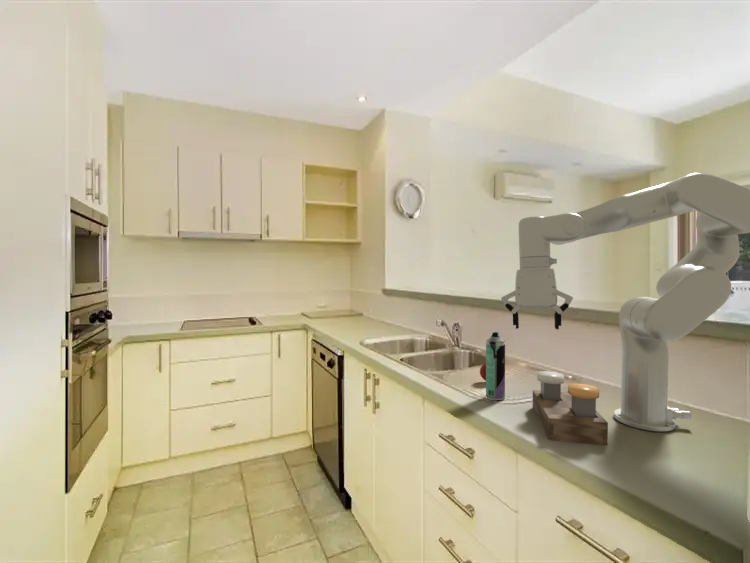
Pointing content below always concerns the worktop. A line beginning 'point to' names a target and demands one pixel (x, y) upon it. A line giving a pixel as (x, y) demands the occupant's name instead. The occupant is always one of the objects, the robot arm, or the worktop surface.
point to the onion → (483, 371)
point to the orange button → (583, 399)
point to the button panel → (568, 421)
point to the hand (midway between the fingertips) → (536, 328)
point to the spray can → (495, 367)
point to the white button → (550, 385)
